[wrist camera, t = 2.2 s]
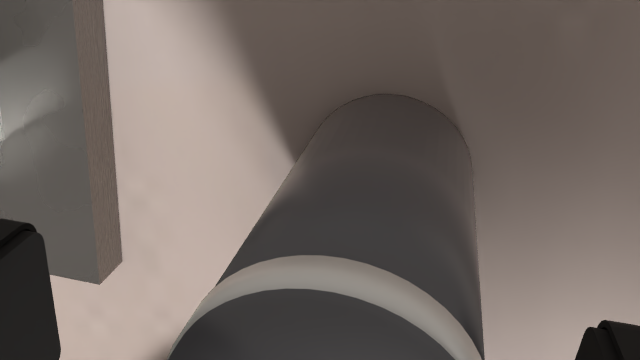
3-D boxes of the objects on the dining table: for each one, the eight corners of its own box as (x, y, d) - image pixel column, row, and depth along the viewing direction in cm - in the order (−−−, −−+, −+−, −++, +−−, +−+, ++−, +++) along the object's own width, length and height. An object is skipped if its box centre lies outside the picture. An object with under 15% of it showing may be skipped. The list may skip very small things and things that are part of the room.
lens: (490, 105, 16) (531, 336, 7) (457, 261, 18) (458, 586, 9) (311, 81, 17) (150, 262, 8) (299, 233, 19) (162, 508, 10)
